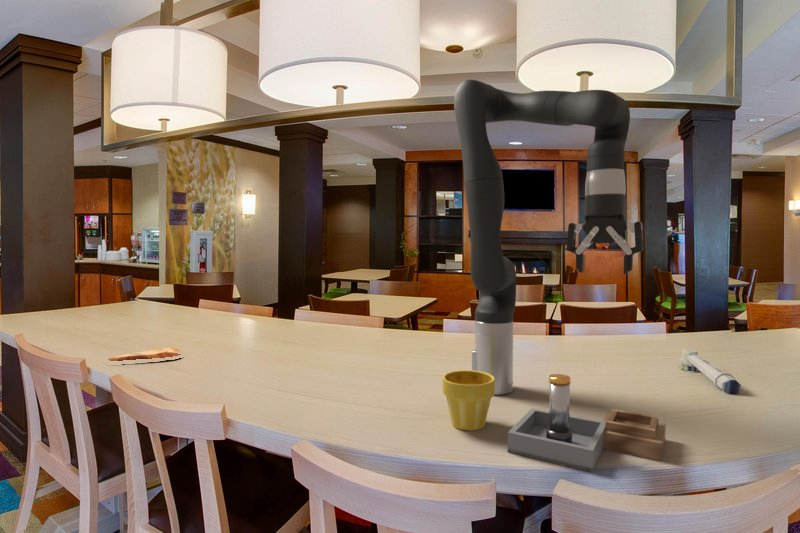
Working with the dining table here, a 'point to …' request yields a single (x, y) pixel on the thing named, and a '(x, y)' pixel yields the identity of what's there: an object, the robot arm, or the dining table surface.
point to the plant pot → (468, 397)
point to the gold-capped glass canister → (559, 409)
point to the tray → (534, 444)
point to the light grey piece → (708, 371)
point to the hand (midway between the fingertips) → (603, 273)
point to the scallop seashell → (148, 354)
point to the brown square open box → (634, 434)
